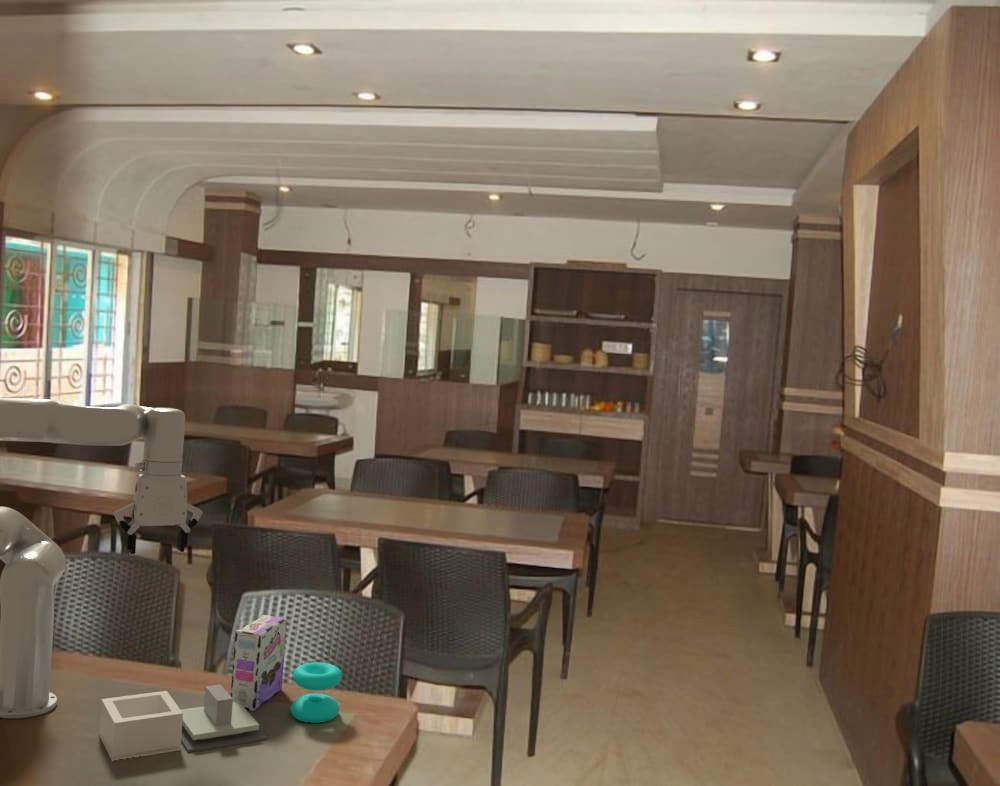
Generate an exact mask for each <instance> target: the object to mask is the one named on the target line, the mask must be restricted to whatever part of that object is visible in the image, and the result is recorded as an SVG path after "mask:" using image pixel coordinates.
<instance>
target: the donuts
mask: <svg viewBox="0 0 1000 786" xmlns="http://www.w3.org/2000/svg"><path fill="white" fill-rule="evenodd" d="M292 678H293V681H294V683H295V684H296V685H297V686H298V687H300V688H302V689H305V690H308V691H314V692H315V691H318V692H319V691H327V690H330V689H333V688H335V687H336V686H337V685H339V684H340V682H341V680H342V678H343V674H342V671H341V669H340V668H339V667H338V666H337V665H334V664H332V663H328V662H321V661H319V662H315V661H314V662H307V663H306V662H305V663H302V664H301V665H299V666H297V667H296V668H295V669H294V670H293V674H292ZM339 712H340V704H339V703H338V701H337V700H336V699H335V698H334V697H332V696H330V695H328V694H325V693H307V694H303V695H301V696H298V697H297V698H295V700H293V701H292V703H291V705H290V713H291V715H292V716H293V717H294V718H295V719H296V720H298V721H301V722H303V723H308V722H310V723H311V724H319V723H320V722H322V723H327V722H329V721H332V720H333V719H335V718H336V717H337V715H338V714H339ZM310 723H309V724H310Z"/></svg>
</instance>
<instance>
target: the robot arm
mask: <svg viewBox="0 0 1000 786" xmlns="http://www.w3.org/2000/svg"><path fill="white" fill-rule="evenodd" d="M185 425H186V415H185V412H184V411H183V410H181V409H178V408H172V407H147V406H142V405H138V404H133V403H123V404H120V405H118V406H115V407H109V406H108V407H107V406H105V407H103V406H102V407H101V406H82V405H81V406H80V405H74V404H73V405H72V404H67V403H63V402H61V401H59V400H56V399H50V398H23V397H22V398H21V397H20V398H19V397H17V398H15V397H7V396H4V395H1V394H0V442H31V443H32V442H34V443H35V442H37V443H39V442H40V443H51V444H68V445H77V446H78V445H81V446H107V447H109V446H111V447H114V446H116V447H117V446H118V447H119V446H126V445H128V444H130V443H132V442H134V441H137V440H144V441H143V442H144V443H143V444H144V445H143V456H142V457H143V458H142V460H141V462H140V461H139V462H135V464H134V468H135V470H139V471H141V473H140V474H138V477H137V480H136V484H135V489H134V495H133V499H132V500H133V501H132V502H131V503H129V504H127V505H125V506H124V507H121V508H118V509H117V510H115V511H114V512H113V515H114V517H115V520H116V521H117V524H118V525H119V526H120V528H122V529H123V531H125V532H126V541H125V549H126V550H128V552H129V554H131V555H135V554H136V550H137V549H136V548H137V534H136V531H137V530H139V528H140V527H159V526H160V527H162V526H163V527H164V526H178V527H179V529H178V531H177V544H176V549H177V550H178V551H179V552H181V553H184V552H185V548H187V546H188V535H189V533H190V532H191V530H192V529H193V528H194V527H195V526H197V524H198V521H199V520H200V519H201V516H202V515H203V514H204V513H203V510H202V509H200V508H198V507H196V506H194V505H193V504H191V503H188V488H187V478H186V476H185V475H184V474H182V471H183V470H182V469H183V457H184V454H183V453H184V443H185V442H184V441H185V429H186V427H185ZM188 512H190V513H192V516H191V518H189V519H188V520H187V518H188ZM129 513H131V521H130V522H129V523H127V522H126V520H125V518H124V516H125V515H127V514H129ZM0 560H1V561H2V562H3V563H4V564H5V565H4V567H3V569H2V572H1V574H0V718H1V719H25V718H26V719H27V718H32V717H36V716H41V715H44V714H46V713H49V712H51V711H52V710H54V708H56V707H57V704H58V697H57V695H56V694H54V693H53V692H50V690H51V689H50V687H51V685H50V684H51V671H52V654H53V653H52V652H53V638H54V620H55V602H54V601H55V599H54V598H55V597H54V591H55V590H54V589H55V585H56V583H58V581H59V579H61V577H62V576H63V575H64V572H65V570H66V565H67V558H66V556H65V553H64V552H63V550H62V549H61V546H59V545H58V544H57V543H56V542H55V541H54V540H52V538H51V537H49V536H48V535H47V534H46V533H44V531H42V529H40V528H39V527H38V526H36V524H35V523H33V522H32V521H31V520H29V519H28V518H27V517H26V516H25V515H24V514H22V513H21V512H19V511H18V510H16V509H14V508H11V507H8V506H2V505H1V506H0Z"/></svg>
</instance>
